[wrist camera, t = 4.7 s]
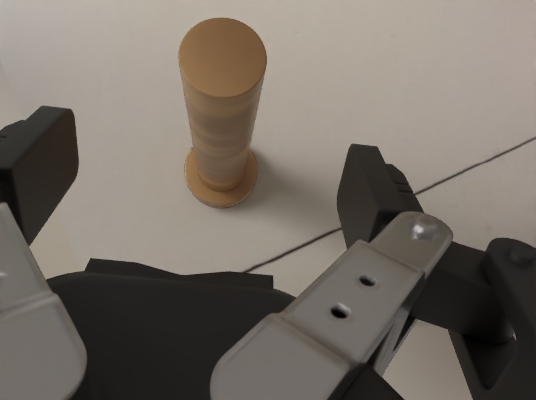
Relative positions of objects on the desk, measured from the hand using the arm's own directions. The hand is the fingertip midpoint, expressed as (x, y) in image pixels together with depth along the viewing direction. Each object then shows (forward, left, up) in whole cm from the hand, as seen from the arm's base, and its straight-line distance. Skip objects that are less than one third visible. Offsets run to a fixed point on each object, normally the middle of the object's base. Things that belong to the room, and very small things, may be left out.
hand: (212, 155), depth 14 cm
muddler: (+1, +2, -12) cm, 13 cm away
